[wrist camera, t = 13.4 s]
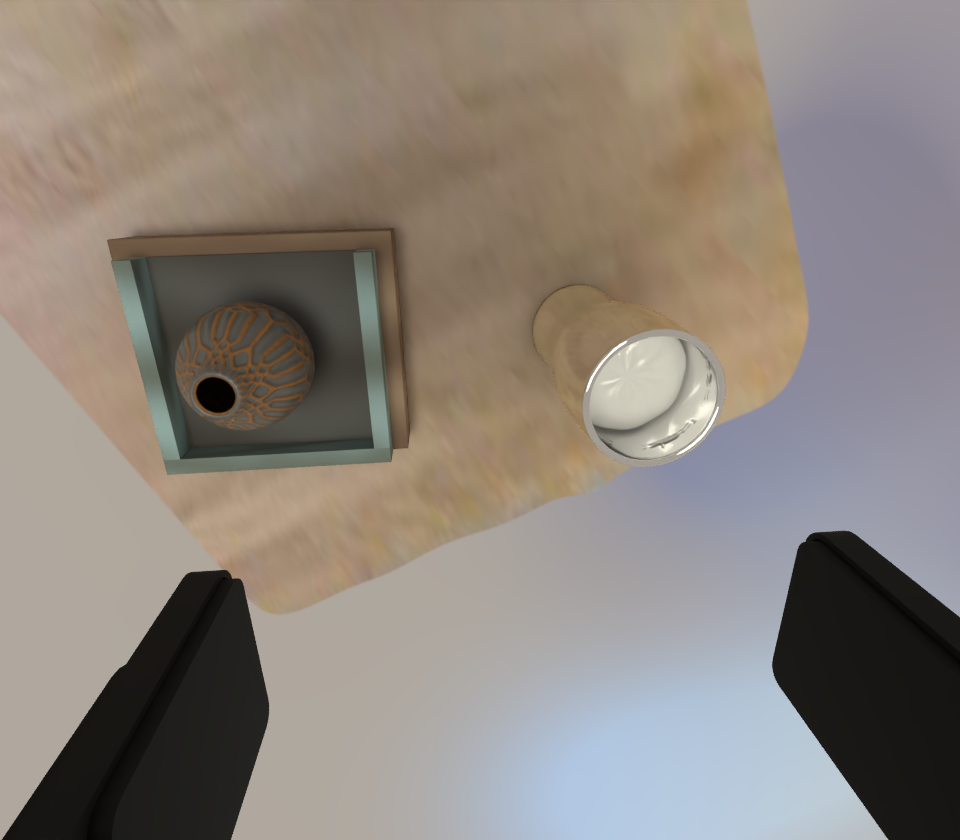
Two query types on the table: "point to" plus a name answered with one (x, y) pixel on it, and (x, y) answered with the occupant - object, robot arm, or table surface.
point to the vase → (244, 365)
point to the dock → (303, 296)
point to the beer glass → (629, 375)
